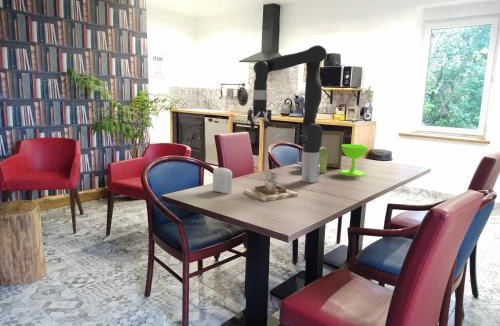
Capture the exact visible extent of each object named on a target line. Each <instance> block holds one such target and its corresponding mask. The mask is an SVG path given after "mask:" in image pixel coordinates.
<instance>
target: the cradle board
mask: <svg viewBox="0 0 500 326" xmlns="http://www.w3.org/2000/svg"><path fill="white" fill-rule="evenodd" d="M264 188H265V184H264V185H258V186H255V187H253V188H247V189H244V190H243V193H244V194H247V195H248V196H250V197H253V198H255V199H257V200H260V201H261V202H265V203H266V202H268V201H269V202H270V201H276V200H283V199H288V198H289V199H290V198H294V197H298V196H299V193H298V192H296V191H293V190H290V189H287V188H286V187H282V186H279V185H277V184H276V189H278V190H279V192H276V193H275V191H274V190H272V191H267V190H265V189H264Z"/></svg>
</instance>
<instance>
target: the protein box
mask: <svg viewBox="0 0 500 326" xmlns="http://www.w3.org/2000/svg"><path fill="white" fill-rule="evenodd" d="M303 147H304V146H302V147H301V148H302V150H301V151H302V152H301V162H302V161H303ZM327 155H328V149H327V148H325V147H320V150H319V165H320V171H319V174H322V173H323V174H326V173H327V168H328V167H327ZM300 165H301V168H300V169H301V171H302V163H301V164H300Z"/></svg>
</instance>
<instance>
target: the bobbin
mask: <svg viewBox="0 0 500 326" xmlns="http://www.w3.org/2000/svg"><path fill="white" fill-rule="evenodd" d="M264 172H265V174H264V176H265V178H264V185H265V188H264V189H265V190H267V191H272V190H274V191H275V193H276V192H279V190H278V189H276V185H277V177H278V175H277V174H278V172H277V171H276V170H275V171H274V170H265V171H264Z"/></svg>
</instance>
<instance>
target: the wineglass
mask: <svg viewBox="0 0 500 326" xmlns="http://www.w3.org/2000/svg"><path fill="white" fill-rule="evenodd" d="M368 147H369V146H367V145H362V144H354V143H352V144H350V143H348V144H346V143H345V144H344V143H343V145H342V154H344V155H345V156H346V157H347V158H349V159H351V168H350V169H343V170H341V171H340V172H339V174H340V175H343V176H346V177H357V178H358V177H364V176H365V177H366V173H365V172H364V171H361V170H357V169H355V166H356V165H355V164H356V159H359V158H362V157H363V156H365V155H366V153H367V151H368Z"/></svg>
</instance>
